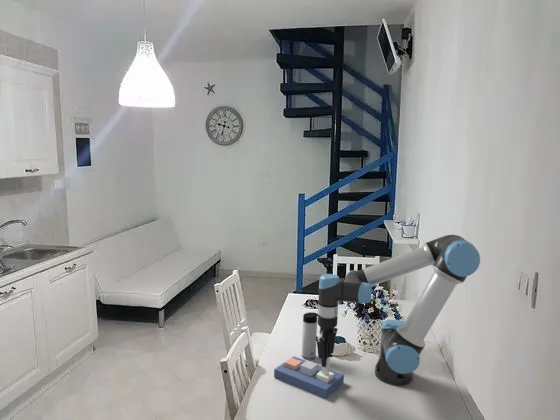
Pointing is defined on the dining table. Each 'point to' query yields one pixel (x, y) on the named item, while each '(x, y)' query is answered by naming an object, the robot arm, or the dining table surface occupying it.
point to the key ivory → (325, 377)
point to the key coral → (293, 364)
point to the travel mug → (309, 335)
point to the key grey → (308, 368)
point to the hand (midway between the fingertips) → (325, 373)
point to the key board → (309, 380)
